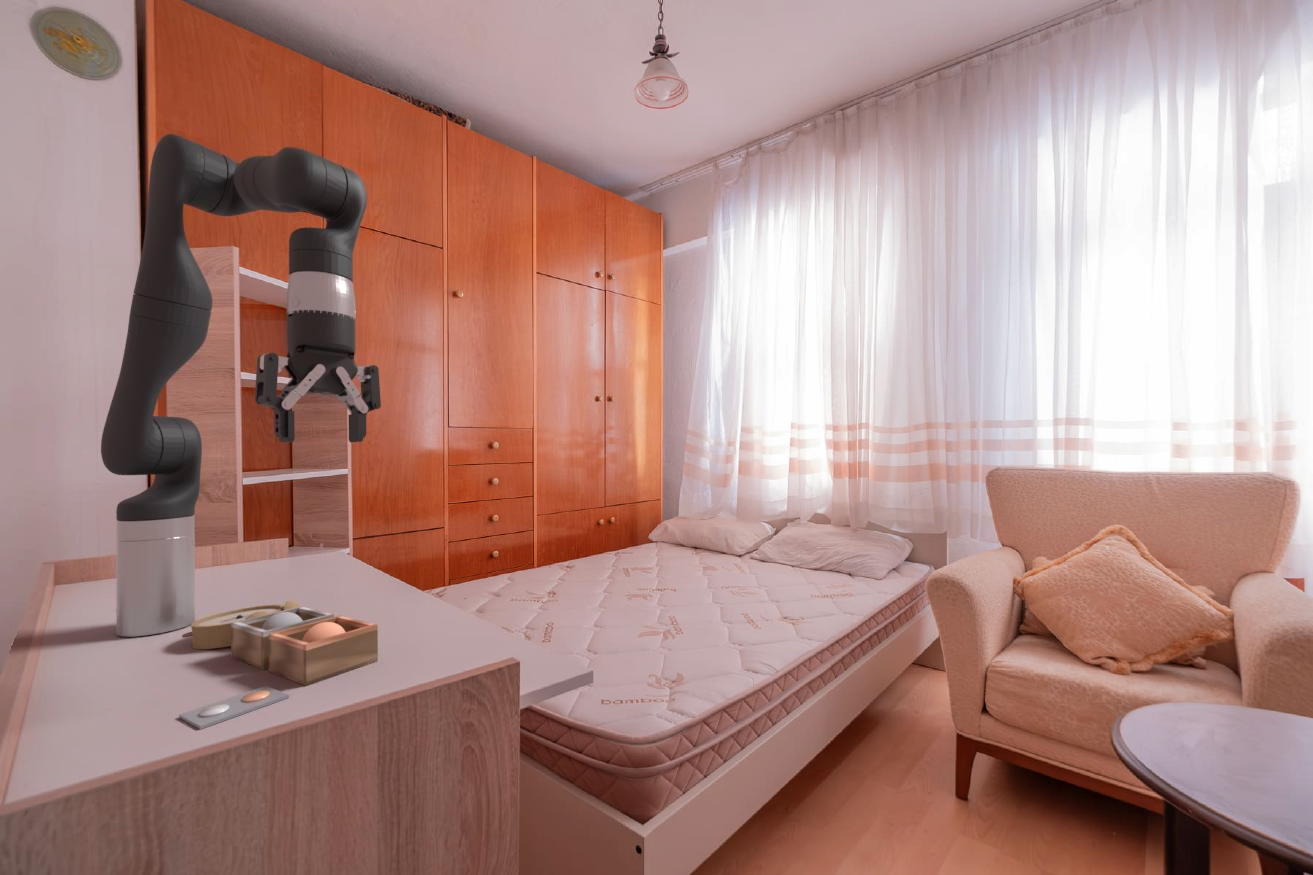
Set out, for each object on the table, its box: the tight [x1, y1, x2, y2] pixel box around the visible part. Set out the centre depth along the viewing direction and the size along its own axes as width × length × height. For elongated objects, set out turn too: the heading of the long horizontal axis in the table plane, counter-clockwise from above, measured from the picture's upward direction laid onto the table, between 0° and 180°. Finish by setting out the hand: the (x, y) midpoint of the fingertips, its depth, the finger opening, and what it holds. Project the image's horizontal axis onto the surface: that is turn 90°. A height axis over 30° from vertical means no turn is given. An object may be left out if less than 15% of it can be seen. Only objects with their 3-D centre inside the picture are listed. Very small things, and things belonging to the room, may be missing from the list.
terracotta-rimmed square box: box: [268, 615, 379, 687], centre depth 71 cm, size 9×9×5 cm
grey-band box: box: [230, 605, 335, 670], centre depth 76 cm, size 9×9×5 cm
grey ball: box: [261, 612, 303, 630], centre depth 76 cm, size 5×5×5 cm
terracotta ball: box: [302, 622, 345, 643], centre depth 71 cm, size 5×5×5 cm
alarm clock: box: [181, 600, 300, 650], centre depth 83 cm, size 11×5×15 cm
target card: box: [178, 685, 290, 730], centre depth 60 cm, size 5×8×1 cm, turn 149°
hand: (322, 442), depth 71 cm, fingers open, 8 cm apart
